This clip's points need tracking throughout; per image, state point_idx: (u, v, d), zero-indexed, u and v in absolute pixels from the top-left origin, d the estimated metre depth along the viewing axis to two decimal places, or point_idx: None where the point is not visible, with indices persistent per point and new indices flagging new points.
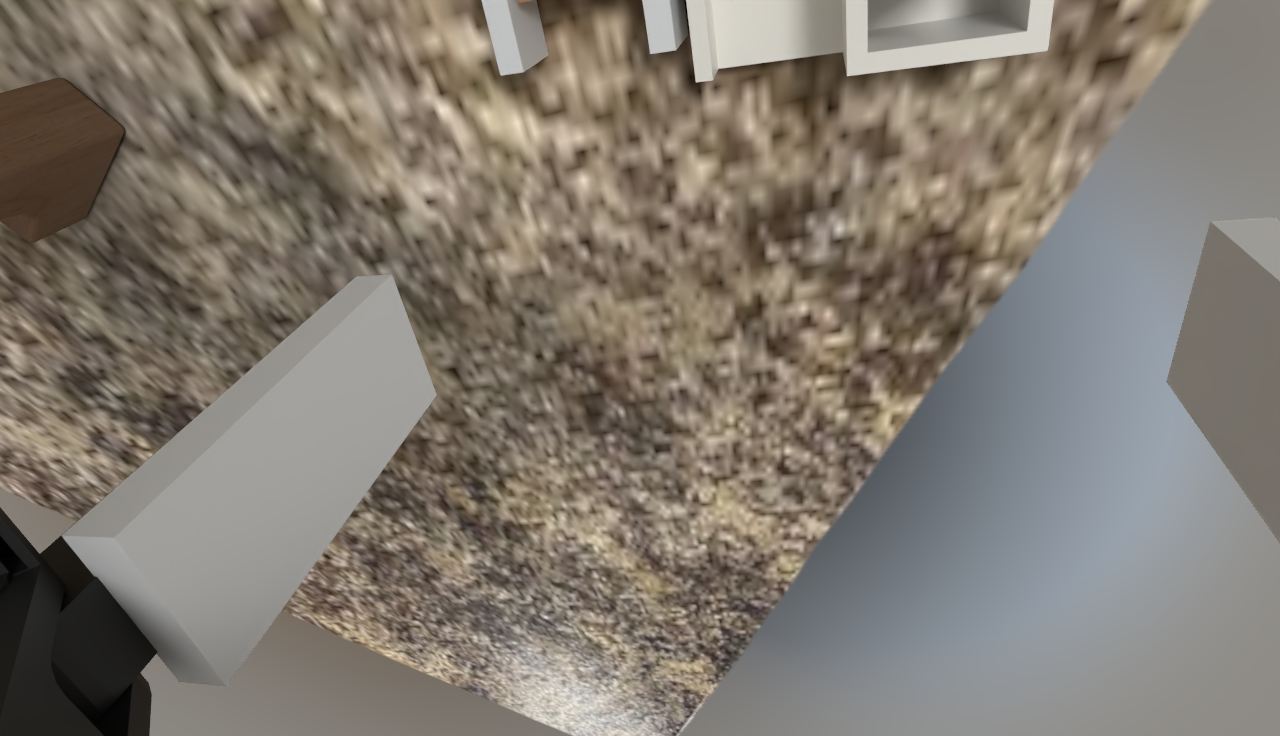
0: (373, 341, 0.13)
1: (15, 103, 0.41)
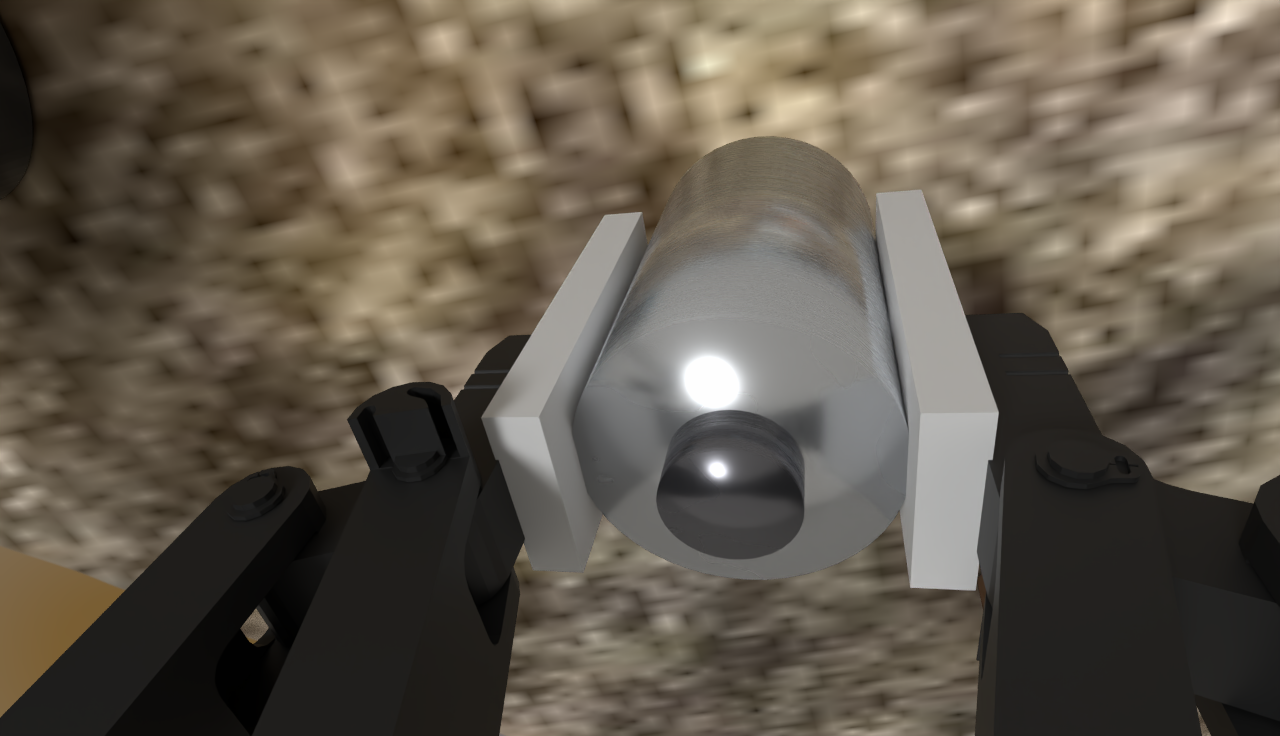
0: None
1: None
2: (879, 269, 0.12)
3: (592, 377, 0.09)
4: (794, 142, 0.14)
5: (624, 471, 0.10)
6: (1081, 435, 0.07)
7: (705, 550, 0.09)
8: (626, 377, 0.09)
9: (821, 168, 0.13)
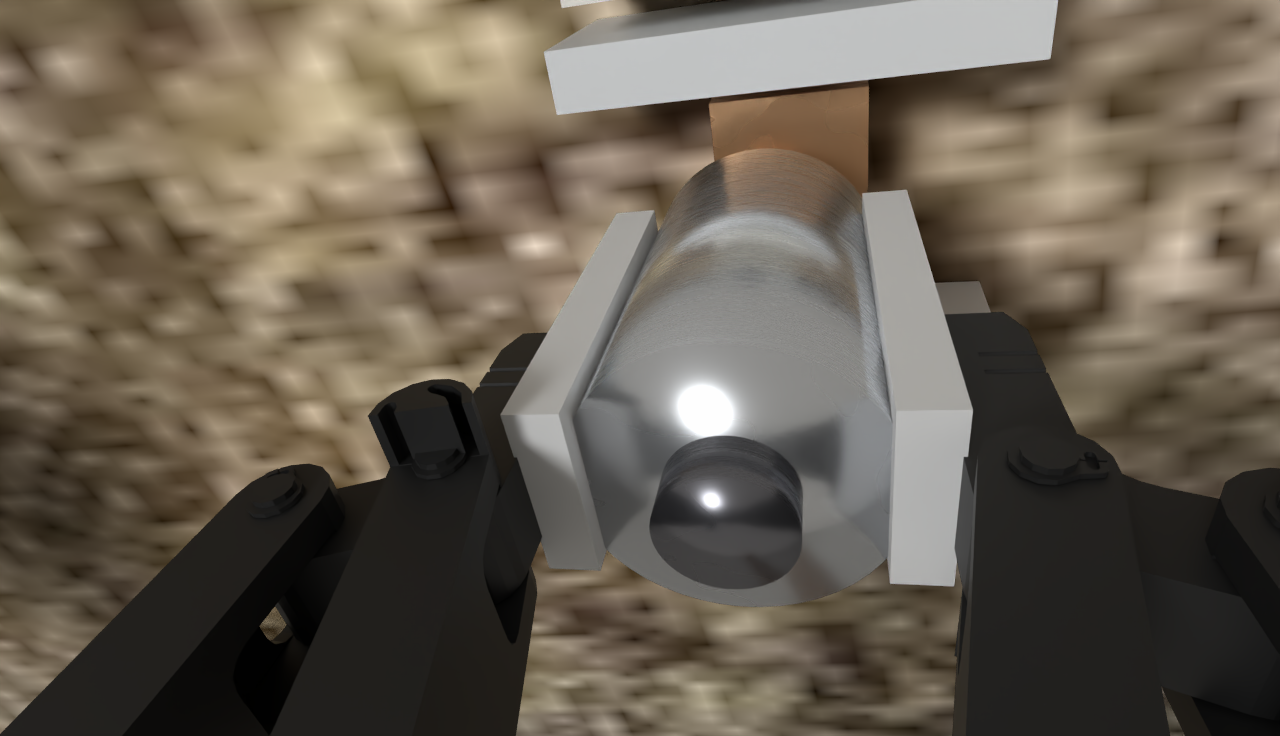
0: None
1: None
2: None
3: (585, 399, 0.09)
4: (797, 155, 0.14)
5: (617, 494, 0.10)
6: (1052, 432, 0.07)
7: (699, 579, 0.09)
8: (620, 400, 0.09)
9: (824, 183, 0.13)
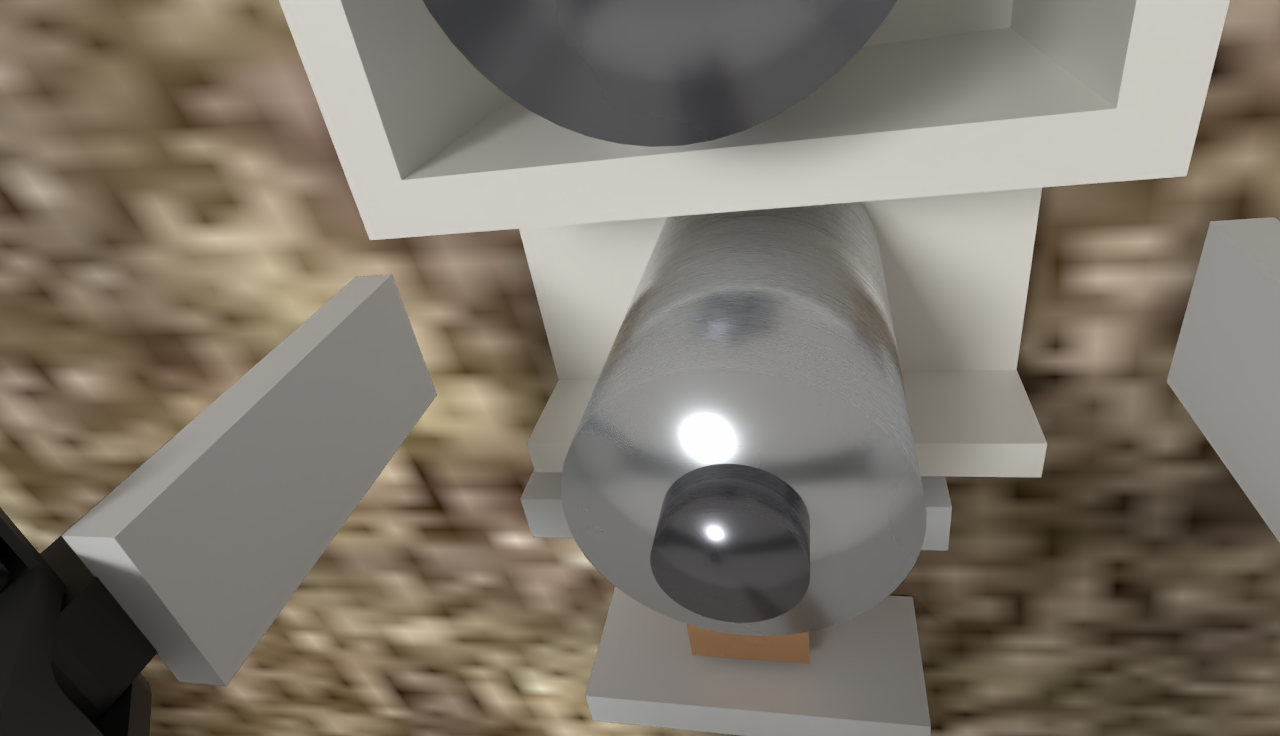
0: (373, 341, 0.13)
1: None
2: (888, 302, 0.11)
3: (583, 426, 0.09)
4: None
5: (616, 523, 0.09)
6: None
7: (702, 612, 0.09)
8: (619, 427, 0.08)
9: None
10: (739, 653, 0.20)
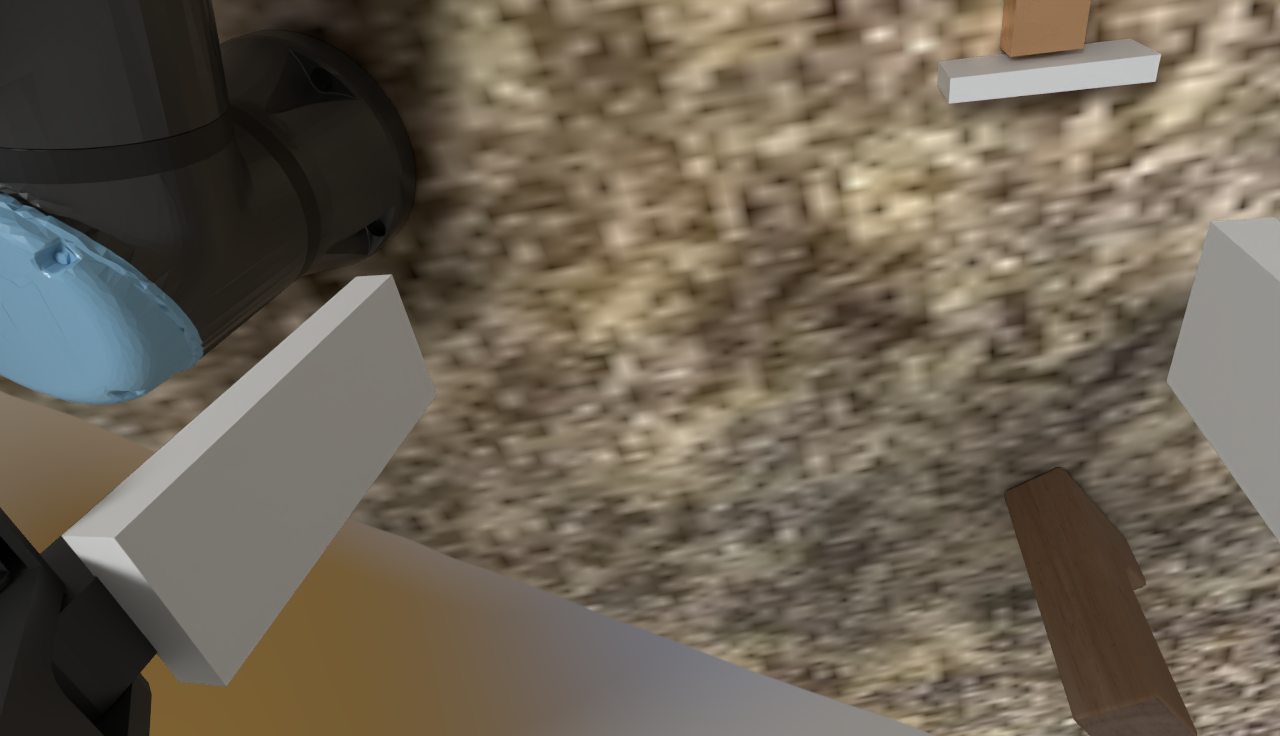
0: (373, 341, 0.13)
1: (1027, 527, 0.50)
2: None
3: None
4: None
5: None
6: None
7: None
8: None
9: None
10: (1041, 48, 0.35)
